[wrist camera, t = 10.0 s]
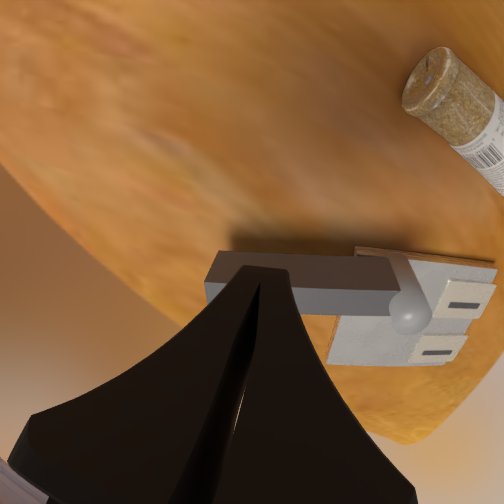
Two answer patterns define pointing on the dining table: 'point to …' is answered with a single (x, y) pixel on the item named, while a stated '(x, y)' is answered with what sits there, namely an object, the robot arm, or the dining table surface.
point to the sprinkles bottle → (459, 111)
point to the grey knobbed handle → (338, 285)
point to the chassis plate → (440, 327)
